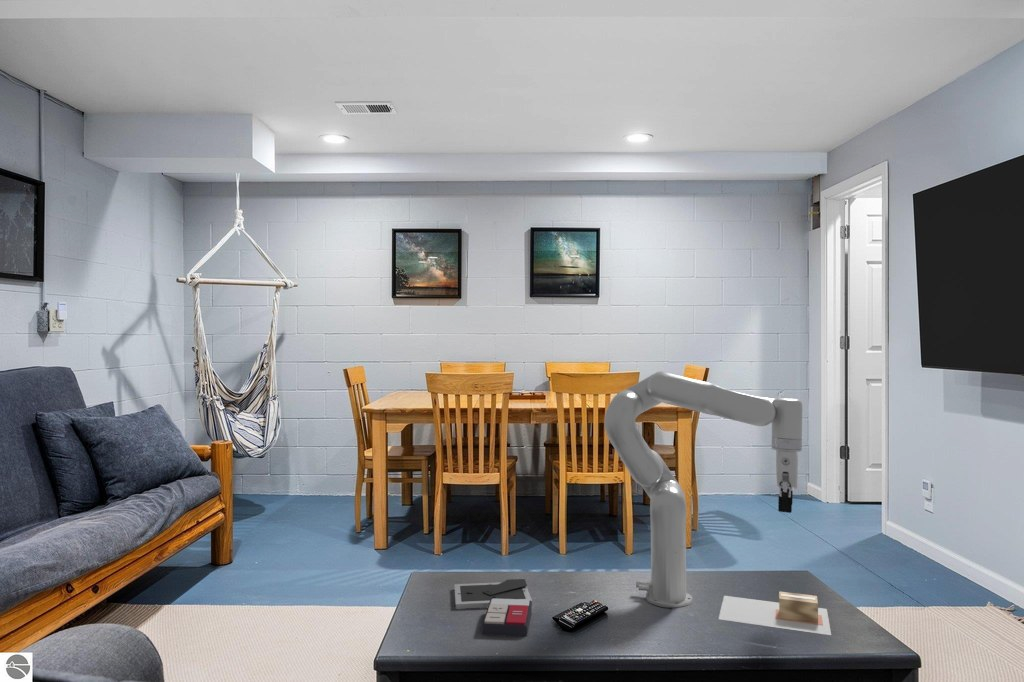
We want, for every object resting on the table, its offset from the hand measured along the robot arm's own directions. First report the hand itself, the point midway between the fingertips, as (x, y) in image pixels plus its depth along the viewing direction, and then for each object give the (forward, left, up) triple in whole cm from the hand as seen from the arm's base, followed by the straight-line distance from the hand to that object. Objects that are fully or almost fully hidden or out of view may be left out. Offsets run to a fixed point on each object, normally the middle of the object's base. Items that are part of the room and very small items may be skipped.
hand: (785, 508), depth 176 cm
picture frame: (-77, -22, -28) cm, 85 cm away
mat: (-3, -6, -27) cm, 28 cm away
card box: (+3, -6, -26) cm, 27 cm away
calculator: (-66, -37, -27) cm, 80 cm away
